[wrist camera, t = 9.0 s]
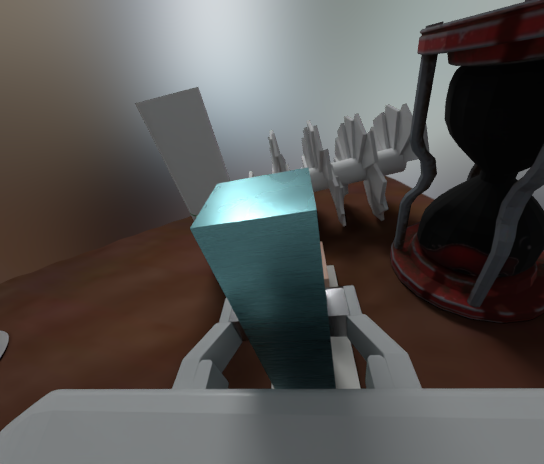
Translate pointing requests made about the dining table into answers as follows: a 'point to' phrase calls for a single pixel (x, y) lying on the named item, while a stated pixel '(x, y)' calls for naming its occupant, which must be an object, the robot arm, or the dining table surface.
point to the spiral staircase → (356, 157)
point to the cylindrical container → (186, 144)
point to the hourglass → (482, 170)
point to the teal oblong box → (272, 272)
